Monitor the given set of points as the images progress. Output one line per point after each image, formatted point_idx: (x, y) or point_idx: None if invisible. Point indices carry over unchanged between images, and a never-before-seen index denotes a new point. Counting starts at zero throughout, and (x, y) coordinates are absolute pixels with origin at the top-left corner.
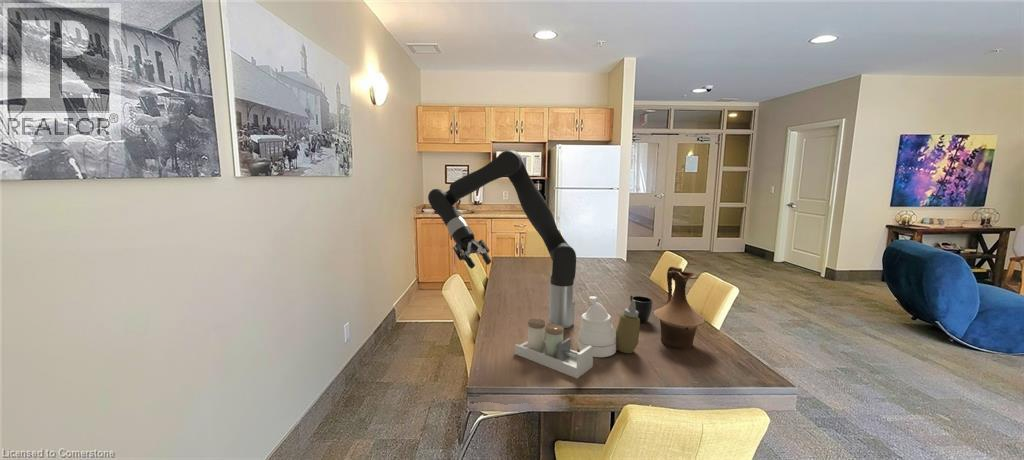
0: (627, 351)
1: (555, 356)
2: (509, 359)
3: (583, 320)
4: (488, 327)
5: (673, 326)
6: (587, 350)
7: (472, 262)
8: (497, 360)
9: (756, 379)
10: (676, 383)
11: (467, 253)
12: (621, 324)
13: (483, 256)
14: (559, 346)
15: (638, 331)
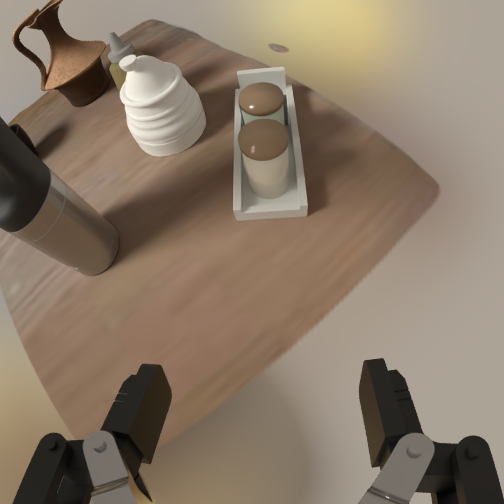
0: None
1: None
2: (336, 207)
3: (161, 103)
4: (230, 387)
5: (98, 58)
6: (255, 70)
7: (386, 380)
8: (360, 223)
9: (150, 27)
10: (207, 43)
11: (409, 479)
12: None
13: (144, 452)
14: (284, 96)
15: None
